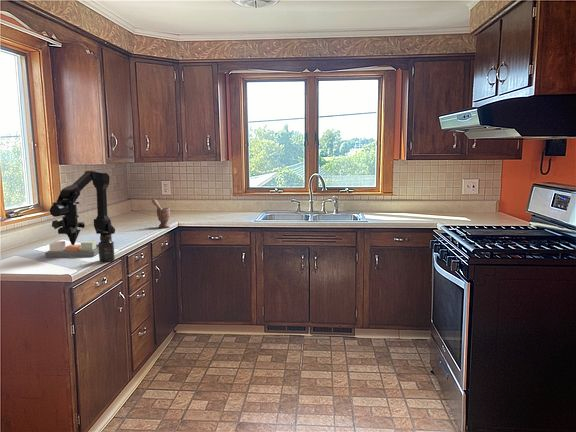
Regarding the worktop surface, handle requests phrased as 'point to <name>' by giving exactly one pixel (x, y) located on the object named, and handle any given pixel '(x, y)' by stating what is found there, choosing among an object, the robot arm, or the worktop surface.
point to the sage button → (88, 245)
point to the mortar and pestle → (162, 215)
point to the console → (72, 253)
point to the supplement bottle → (106, 249)
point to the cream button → (57, 246)
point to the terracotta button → (73, 247)
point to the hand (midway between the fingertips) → (73, 244)
